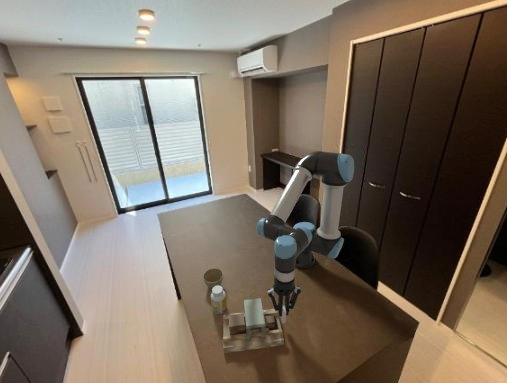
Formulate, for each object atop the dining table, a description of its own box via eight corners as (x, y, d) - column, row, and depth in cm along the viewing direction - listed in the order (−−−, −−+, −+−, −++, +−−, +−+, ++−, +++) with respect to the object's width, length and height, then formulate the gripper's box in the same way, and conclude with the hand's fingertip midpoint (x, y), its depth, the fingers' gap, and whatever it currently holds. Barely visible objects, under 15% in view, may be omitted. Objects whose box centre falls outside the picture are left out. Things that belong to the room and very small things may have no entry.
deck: (276, 313, 100) (276, 293, 96) (283, 344, 88) (284, 324, 83) (224, 319, 98) (221, 300, 94) (223, 353, 85) (221, 332, 81)
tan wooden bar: (272, 318, 95) (272, 309, 93) (275, 329, 90) (275, 320, 88) (229, 323, 93) (228, 315, 91) (229, 335, 88) (229, 326, 87)
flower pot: (205, 295, 110) (203, 284, 108) (203, 281, 119) (202, 270, 117) (225, 291, 113) (224, 279, 110) (222, 277, 122) (221, 266, 119)
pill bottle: (227, 302, 107) (225, 283, 102) (226, 314, 101) (224, 294, 96) (213, 303, 106) (211, 284, 102) (211, 315, 100) (208, 295, 96)
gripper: (298, 266, 87) (296, 310, 97) (265, 269, 86) (266, 313, 96) (304, 281, 81) (301, 326, 90) (268, 284, 80) (268, 330, 89)
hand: (283, 320), depth 93 cm, fingers closed
